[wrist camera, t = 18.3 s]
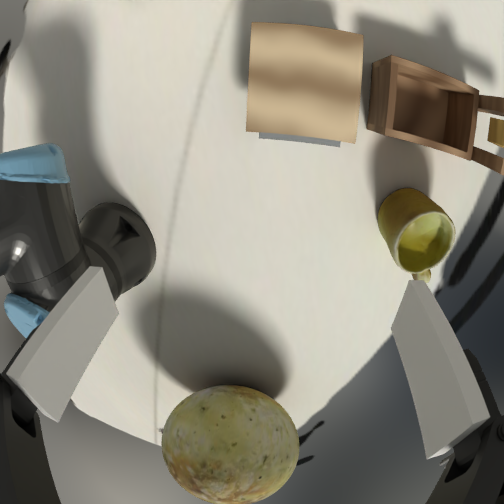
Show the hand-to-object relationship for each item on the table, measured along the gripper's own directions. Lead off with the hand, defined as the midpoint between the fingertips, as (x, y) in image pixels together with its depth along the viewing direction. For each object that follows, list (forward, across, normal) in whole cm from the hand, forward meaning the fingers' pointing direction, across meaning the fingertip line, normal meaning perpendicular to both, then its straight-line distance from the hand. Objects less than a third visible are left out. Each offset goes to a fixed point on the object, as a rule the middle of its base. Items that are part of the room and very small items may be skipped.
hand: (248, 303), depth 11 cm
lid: (+21, +4, +10) cm, 24 cm away
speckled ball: (+27, -6, -54) cm, 61 cm away
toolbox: (+26, +20, +9) cm, 34 cm away
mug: (+26, +20, -8) cm, 34 cm away
